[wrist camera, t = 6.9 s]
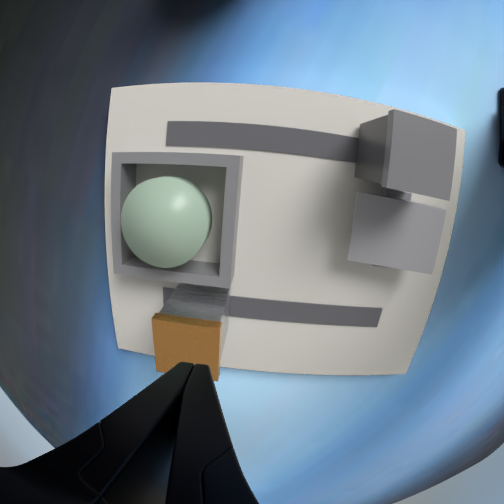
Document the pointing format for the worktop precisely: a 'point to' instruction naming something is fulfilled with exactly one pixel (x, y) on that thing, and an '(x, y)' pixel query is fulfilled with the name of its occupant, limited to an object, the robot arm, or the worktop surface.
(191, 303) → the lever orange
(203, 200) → the button green
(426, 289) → the panel
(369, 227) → the rocker grey
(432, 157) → the slider grey
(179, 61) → the worktop surface
